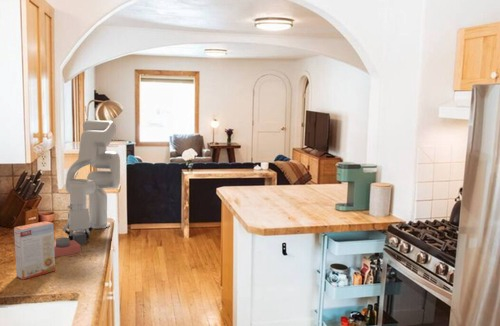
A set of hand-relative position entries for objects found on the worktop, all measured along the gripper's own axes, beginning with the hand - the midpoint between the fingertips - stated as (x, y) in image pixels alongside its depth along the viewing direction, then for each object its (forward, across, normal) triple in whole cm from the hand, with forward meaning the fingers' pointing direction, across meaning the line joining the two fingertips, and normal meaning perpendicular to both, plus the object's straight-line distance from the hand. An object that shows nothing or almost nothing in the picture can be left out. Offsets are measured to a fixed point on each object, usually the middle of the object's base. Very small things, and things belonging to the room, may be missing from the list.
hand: (78, 241), depth 240 cm
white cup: (+1, +5, +10) cm, 11 cm away
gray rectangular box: (+1, 0, 0) cm, 1 cm away
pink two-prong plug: (+1, -11, -6) cm, 13 cm away
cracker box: (+1, -28, -32) cm, 43 cm away
